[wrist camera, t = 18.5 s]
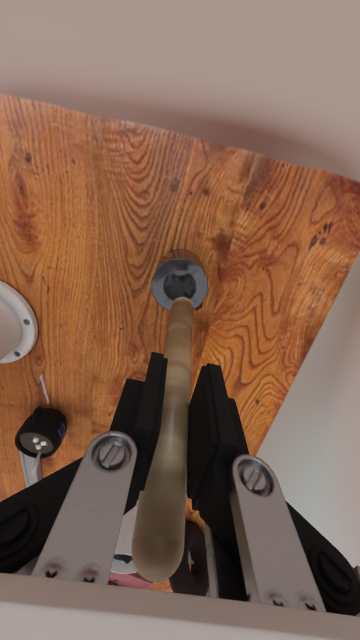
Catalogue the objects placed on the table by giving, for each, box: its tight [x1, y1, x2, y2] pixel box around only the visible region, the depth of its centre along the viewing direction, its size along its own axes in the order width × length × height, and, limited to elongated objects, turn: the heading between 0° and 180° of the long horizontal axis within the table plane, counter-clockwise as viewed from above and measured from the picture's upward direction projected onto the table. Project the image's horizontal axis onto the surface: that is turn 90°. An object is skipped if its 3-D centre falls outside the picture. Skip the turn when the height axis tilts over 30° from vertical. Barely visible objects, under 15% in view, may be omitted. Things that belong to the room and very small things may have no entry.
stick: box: [131, 297, 193, 582], centre depth 13 cm, size 2×2×15 cm
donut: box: [169, 522, 209, 597], centre depth 47 cm, size 12×12×4 cm
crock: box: [151, 249, 208, 311], centre depth 27 cm, size 6×6×6 cm
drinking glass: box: [111, 500, 139, 574], centre depth 44 cm, size 7×7×10 cm
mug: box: [15, 374, 67, 475], centre depth 36 cm, size 12×6×8 cm, turn 179°
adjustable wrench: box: [19, 451, 42, 488], centre depth 46 cm, size 25×6×2 cm, turn 167°
